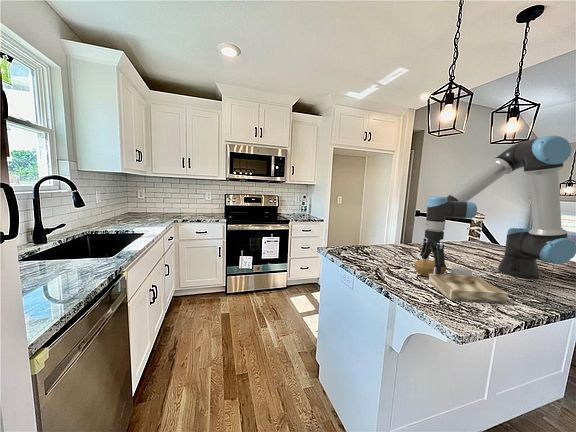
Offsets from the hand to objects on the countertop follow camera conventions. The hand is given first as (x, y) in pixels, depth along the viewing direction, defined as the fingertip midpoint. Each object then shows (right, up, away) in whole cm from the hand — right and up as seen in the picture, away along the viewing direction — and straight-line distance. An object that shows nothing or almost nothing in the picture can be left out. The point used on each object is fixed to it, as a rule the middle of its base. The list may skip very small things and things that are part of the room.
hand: (430, 276), depth 114 cm
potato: (0, -1, +1) cm, 1 cm away
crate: (+5, -3, -16) cm, 16 cm away
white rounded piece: (+14, -1, -1) cm, 14 cm away
